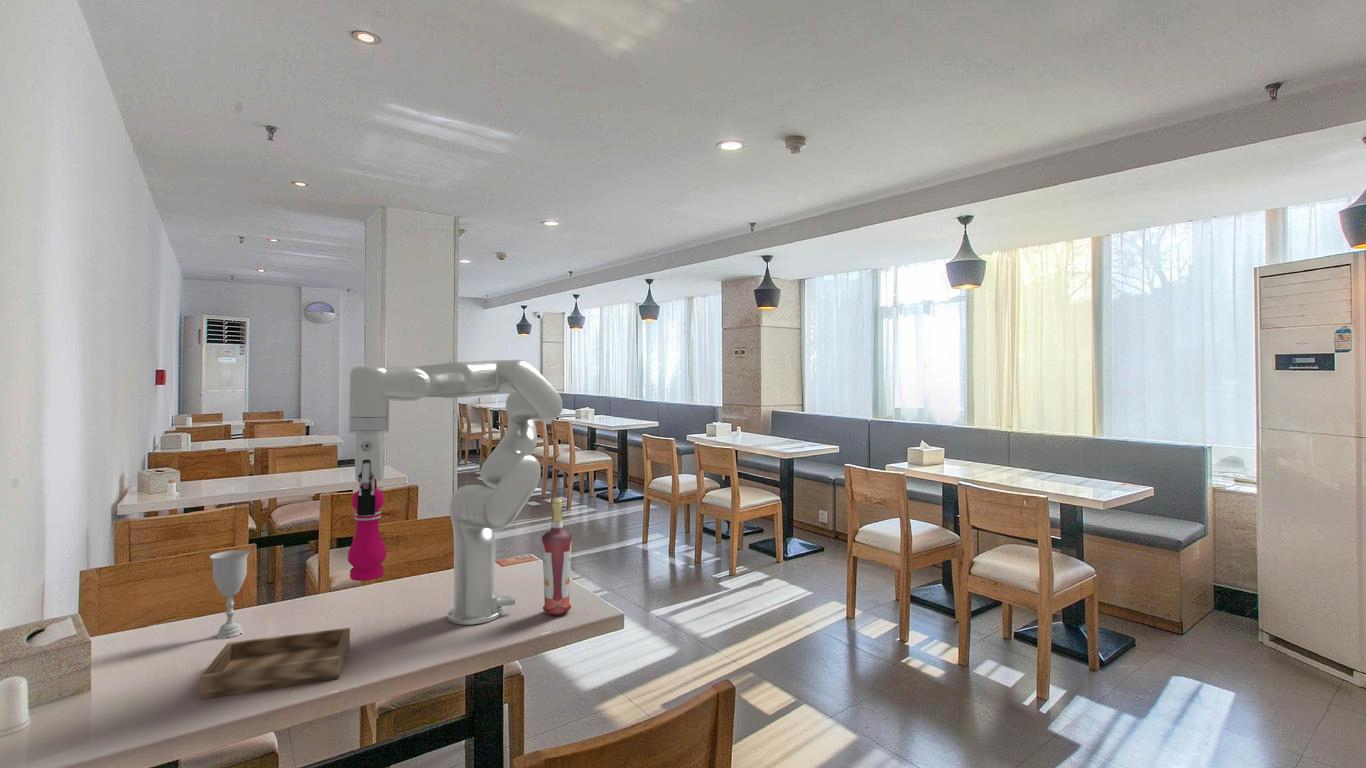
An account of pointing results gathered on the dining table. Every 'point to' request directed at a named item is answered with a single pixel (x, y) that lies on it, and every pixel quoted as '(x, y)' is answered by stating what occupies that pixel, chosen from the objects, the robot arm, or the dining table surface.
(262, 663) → the serving tray
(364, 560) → the pepper mill
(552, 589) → the liquor
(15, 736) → the dining table surface
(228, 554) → the chalice
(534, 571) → the dining table surface
